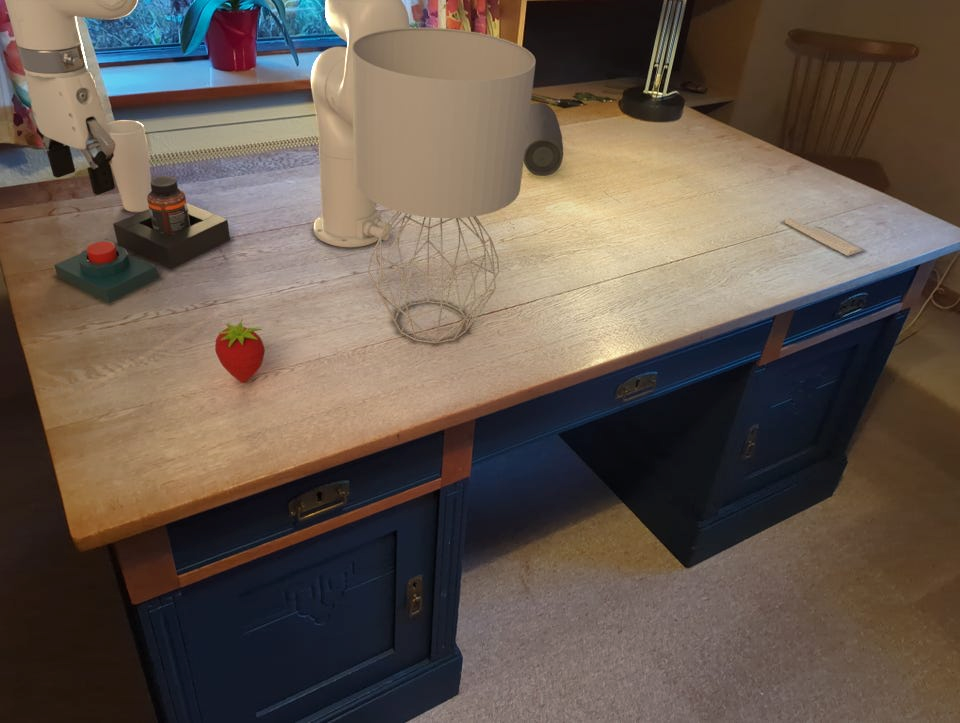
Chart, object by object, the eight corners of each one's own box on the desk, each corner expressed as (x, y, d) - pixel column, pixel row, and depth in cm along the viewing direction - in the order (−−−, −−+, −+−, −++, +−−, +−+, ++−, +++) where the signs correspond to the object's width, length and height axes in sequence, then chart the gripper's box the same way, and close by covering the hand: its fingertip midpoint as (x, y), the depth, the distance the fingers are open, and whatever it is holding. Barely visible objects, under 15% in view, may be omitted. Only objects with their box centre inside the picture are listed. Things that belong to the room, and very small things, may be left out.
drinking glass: (146, 218, 136) (129, 136, 127) (111, 211, 137) (92, 130, 127) (166, 202, 141) (151, 123, 132) (132, 196, 142) (115, 117, 133)
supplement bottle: (200, 239, 131) (190, 177, 125) (178, 254, 127) (167, 191, 120) (171, 231, 133) (159, 170, 126) (148, 246, 128) (135, 183, 121)
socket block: (230, 240, 132) (227, 219, 129) (171, 269, 123) (167, 247, 120) (178, 218, 137) (174, 197, 134) (117, 245, 128) (112, 223, 125)
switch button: (123, 256, 118) (120, 246, 117) (100, 267, 115) (98, 257, 114) (105, 248, 119) (103, 238, 118) (83, 258, 117) (80, 248, 116)
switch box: (158, 278, 120) (153, 256, 118) (109, 303, 114) (103, 280, 112) (107, 254, 125) (102, 233, 122) (57, 277, 118) (50, 254, 116)
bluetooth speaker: (561, 183, 162) (568, 138, 156) (518, 180, 162) (523, 134, 156) (555, 144, 180) (561, 101, 174) (516, 140, 180) (520, 98, 174)
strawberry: (253, 359, 106) (245, 299, 100) (277, 388, 101) (270, 327, 95) (211, 373, 103) (201, 311, 97) (234, 403, 98) (225, 341, 92)
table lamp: (383, 379, 105) (384, 85, 81) (340, 295, 121) (330, 29, 97) (527, 350, 113) (568, 76, 89) (469, 275, 129) (490, 25, 105)
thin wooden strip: (800, 218, 158) (802, 213, 157) (862, 251, 148) (864, 246, 147) (784, 222, 155) (786, 217, 155) (846, 256, 146) (849, 251, 145)
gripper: (122, 66, 99) (147, 191, 109) (37, 38, 105) (68, 159, 116) (70, 79, 93) (102, 209, 104) (-16, 49, 100) (22, 174, 110)
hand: (84, 182), depth 110 cm, fingers open, 8 cm apart
